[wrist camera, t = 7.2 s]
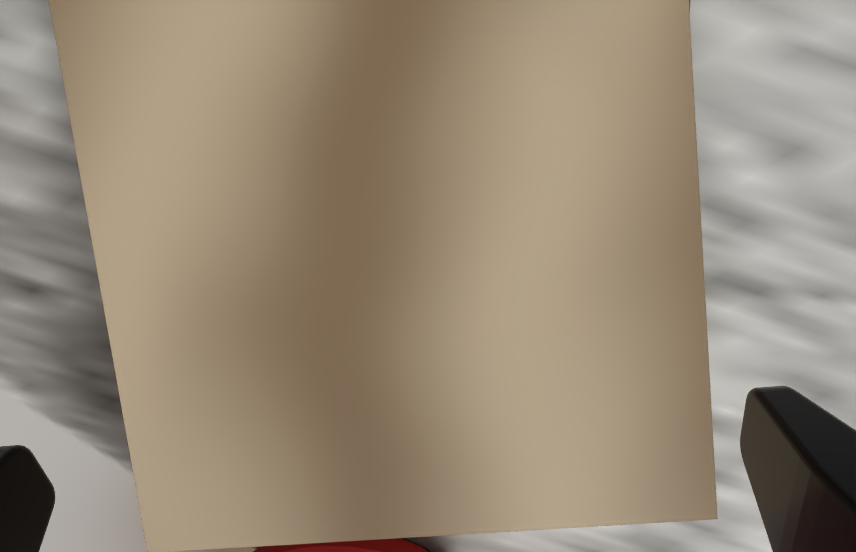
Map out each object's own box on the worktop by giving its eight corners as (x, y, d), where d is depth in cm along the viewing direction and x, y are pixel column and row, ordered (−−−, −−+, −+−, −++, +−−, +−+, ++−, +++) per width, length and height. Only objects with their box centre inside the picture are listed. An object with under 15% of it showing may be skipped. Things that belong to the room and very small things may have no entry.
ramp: (659, -189, 10) (826, -231, 6) (637, 360, 16) (711, 561, 12) (64, -93, 11) (-203, -62, 7) (245, 393, 17) (168, 590, 13)
